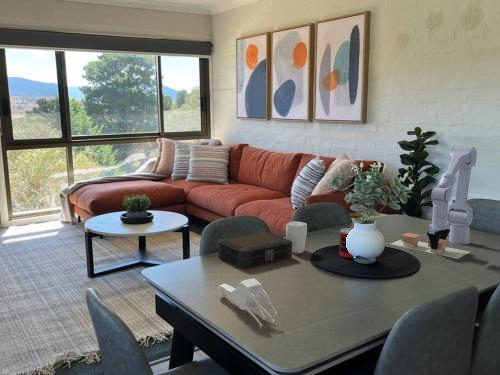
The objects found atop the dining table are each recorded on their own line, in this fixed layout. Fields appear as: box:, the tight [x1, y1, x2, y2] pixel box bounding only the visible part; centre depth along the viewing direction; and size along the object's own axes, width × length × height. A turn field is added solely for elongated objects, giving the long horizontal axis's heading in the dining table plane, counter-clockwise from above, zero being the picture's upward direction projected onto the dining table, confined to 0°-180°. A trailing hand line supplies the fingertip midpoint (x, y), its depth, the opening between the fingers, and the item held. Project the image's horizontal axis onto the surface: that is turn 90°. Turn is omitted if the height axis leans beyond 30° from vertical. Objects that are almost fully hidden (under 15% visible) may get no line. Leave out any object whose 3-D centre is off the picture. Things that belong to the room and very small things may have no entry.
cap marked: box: [400, 232, 421, 244], centre depth 207 cm, size 6×6×3 cm
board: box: [390, 239, 471, 260], centre depth 205 cm, size 13×30×1 cm, turn 45°
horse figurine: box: [217, 278, 278, 329], centre depth 143 cm, size 5×16×25 cm
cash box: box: [217, 231, 293, 270], centre depth 194 cm, size 25×20×8 cm
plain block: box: [430, 247, 445, 255], centre depth 199 cm, size 4×4×4 cm
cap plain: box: [427, 239, 449, 250], centre depth 199 cm, size 6×6×3 cm
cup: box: [285, 221, 308, 254], centre depth 203 cm, size 9×9×12 cm
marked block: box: [403, 242, 418, 249], centre depth 207 cm, size 4×4×4 cm
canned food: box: [339, 227, 354, 259], centre depth 196 cm, size 8×8×11 cm
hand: (437, 247), depth 199 cm, fingers open, 6 cm apart
